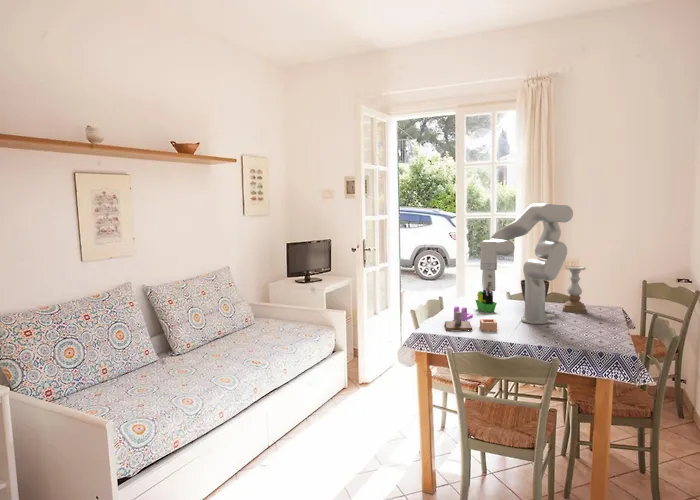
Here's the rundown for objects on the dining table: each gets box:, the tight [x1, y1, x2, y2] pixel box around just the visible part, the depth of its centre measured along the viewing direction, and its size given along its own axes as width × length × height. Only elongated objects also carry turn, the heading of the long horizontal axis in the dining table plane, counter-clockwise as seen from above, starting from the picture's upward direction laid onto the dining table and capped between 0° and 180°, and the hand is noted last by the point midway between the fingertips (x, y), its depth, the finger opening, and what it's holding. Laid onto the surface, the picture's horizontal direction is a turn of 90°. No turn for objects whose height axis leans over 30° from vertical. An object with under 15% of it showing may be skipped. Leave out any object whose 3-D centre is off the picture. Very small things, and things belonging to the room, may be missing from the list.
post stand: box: [444, 311, 473, 332], centre depth 238 cm, size 12×12×8 cm
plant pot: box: [520, 279, 550, 302], centre depth 270 cm, size 15×15×16 cm
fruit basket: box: [475, 290, 498, 313], centre depth 271 cm, size 11×9×11 cm
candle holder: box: [562, 265, 587, 314], centre depth 267 cm, size 11×11×24 cm
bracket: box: [453, 305, 474, 321], centre depth 256 cm, size 13×6×7 cm, turn 142°
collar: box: [479, 318, 498, 332], centre depth 235 cm, size 7×7×4 cm
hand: (487, 302), depth 233 cm, fingers open, 9 cm apart
